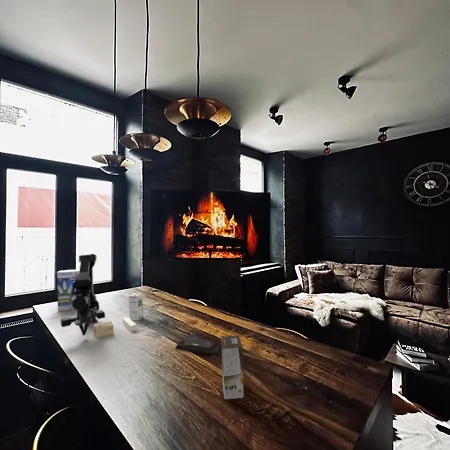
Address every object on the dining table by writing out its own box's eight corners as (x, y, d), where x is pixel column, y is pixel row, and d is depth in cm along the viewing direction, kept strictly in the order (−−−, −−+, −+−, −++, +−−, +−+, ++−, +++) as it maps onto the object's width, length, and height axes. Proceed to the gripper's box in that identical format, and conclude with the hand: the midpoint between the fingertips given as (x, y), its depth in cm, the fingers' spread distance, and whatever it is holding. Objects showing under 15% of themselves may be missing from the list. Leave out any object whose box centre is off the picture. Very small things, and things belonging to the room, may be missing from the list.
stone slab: (230, 352, 115) (230, 342, 114) (203, 369, 102) (203, 358, 102) (196, 334, 130) (197, 325, 129) (169, 347, 117) (169, 337, 117)
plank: (122, 323, 145) (122, 318, 145) (128, 322, 147) (128, 317, 147) (130, 331, 134) (130, 326, 134) (136, 330, 136) (136, 324, 136)
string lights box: (57, 311, 170) (56, 272, 170) (61, 307, 178) (60, 270, 178) (79, 309, 174) (78, 270, 173) (82, 305, 181) (81, 268, 181)
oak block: (93, 334, 133) (93, 324, 133) (110, 330, 138) (110, 320, 138) (96, 338, 128) (96, 328, 128) (113, 333, 133) (113, 324, 133)
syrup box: (138, 320, 149) (137, 295, 149) (129, 320, 151) (128, 295, 151) (143, 317, 155) (142, 293, 155) (134, 316, 156) (133, 292, 156)
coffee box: (244, 398, 81) (243, 347, 81) (224, 399, 81) (222, 348, 81) (240, 380, 90) (239, 334, 90) (222, 381, 90) (220, 336, 90)
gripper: (62, 312, 115) (63, 347, 115) (107, 303, 126) (108, 335, 127) (60, 306, 124) (61, 338, 124) (102, 298, 135) (102, 328, 135)
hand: (83, 335), depth 127 cm, fingers closed
